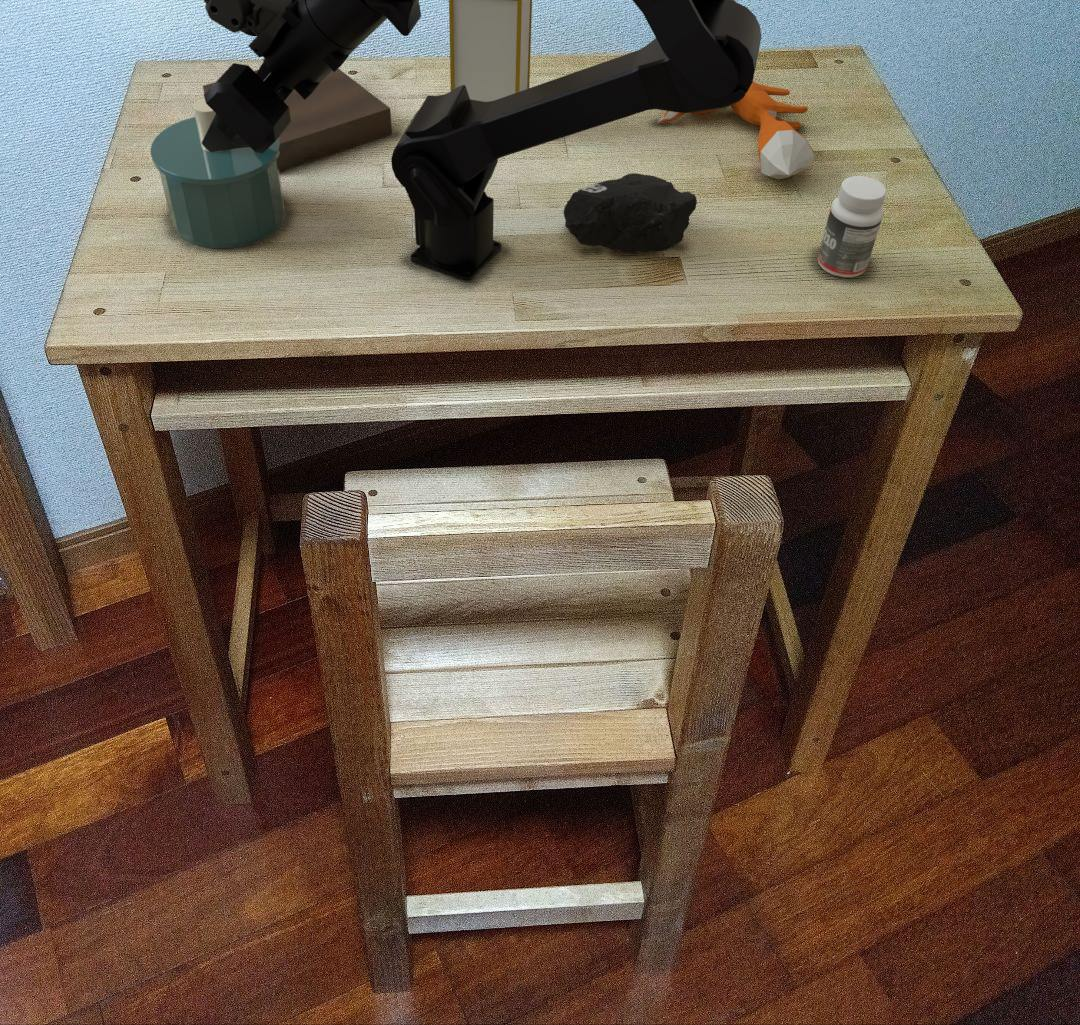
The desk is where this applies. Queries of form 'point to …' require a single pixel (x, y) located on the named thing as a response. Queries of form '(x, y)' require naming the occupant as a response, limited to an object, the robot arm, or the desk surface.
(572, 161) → the desk surface
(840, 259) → the pill bottle
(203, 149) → the lid
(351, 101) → the board
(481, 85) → the white and yellow box
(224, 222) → the jar
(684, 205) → the rock
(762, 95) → the toy
